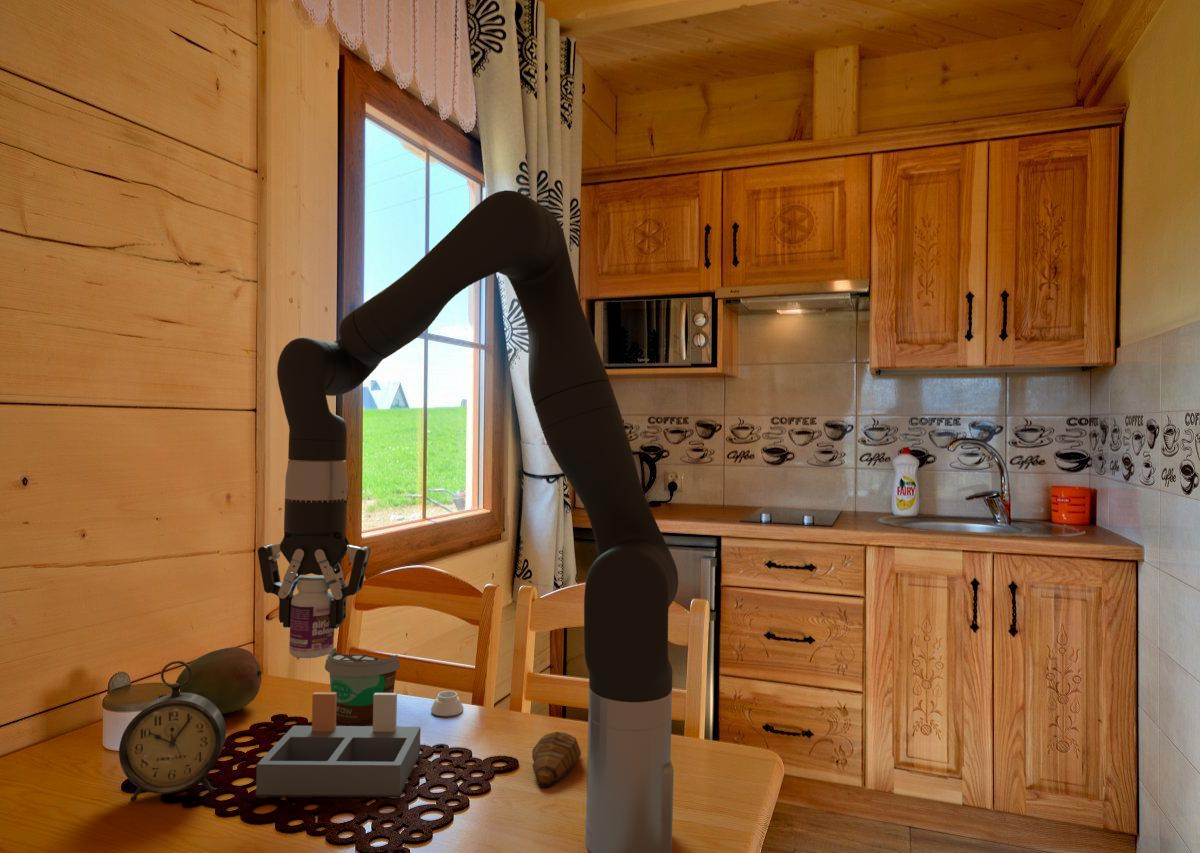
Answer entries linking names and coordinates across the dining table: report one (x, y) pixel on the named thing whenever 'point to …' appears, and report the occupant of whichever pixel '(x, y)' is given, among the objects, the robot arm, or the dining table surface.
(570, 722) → the dining table surface
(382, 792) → the grey divided tray
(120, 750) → the alarm clock
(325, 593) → the pill bottle
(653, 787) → the robot arm
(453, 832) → the dining table surface
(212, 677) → the fruit
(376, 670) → the food container
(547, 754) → the croissant
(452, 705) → the white jar
